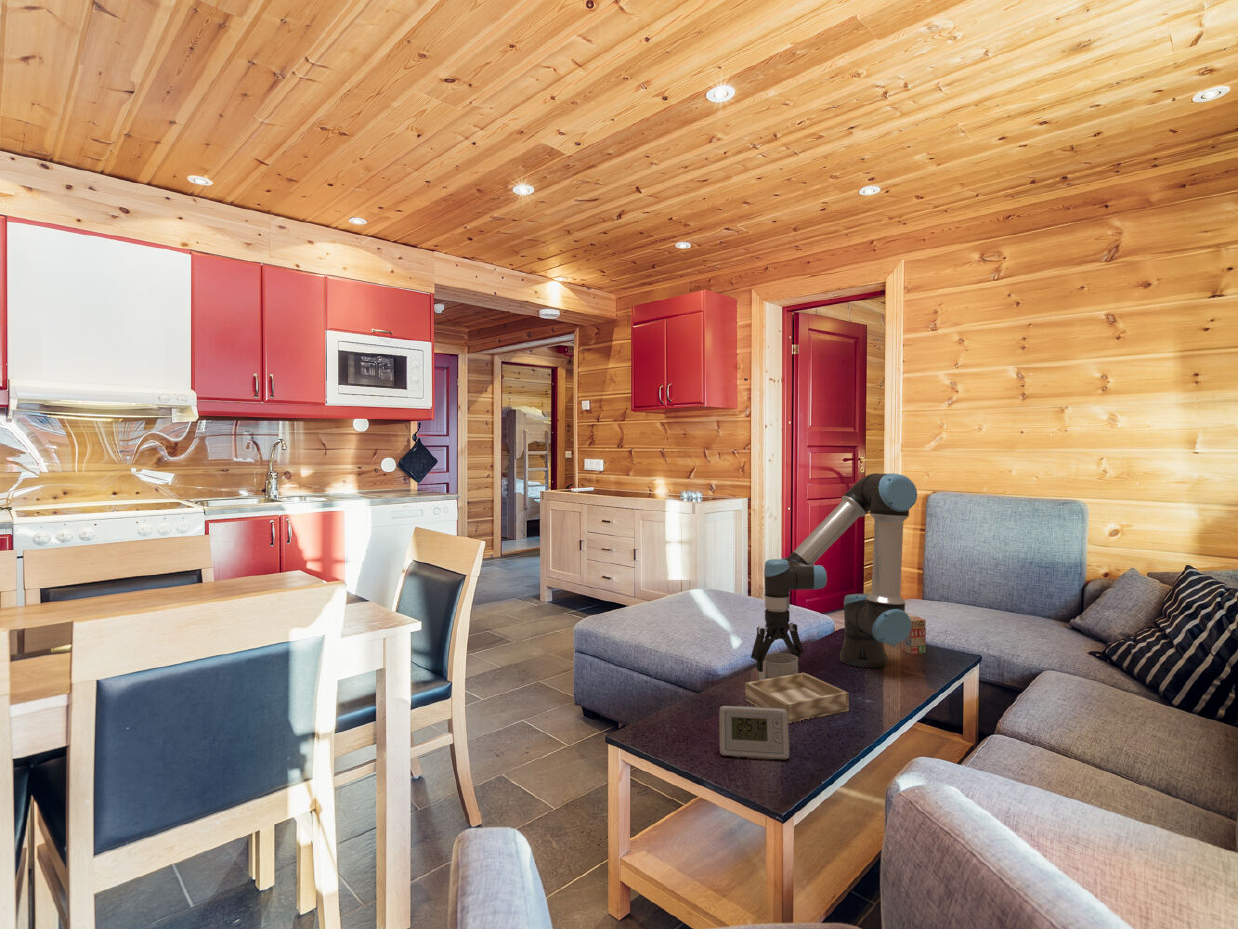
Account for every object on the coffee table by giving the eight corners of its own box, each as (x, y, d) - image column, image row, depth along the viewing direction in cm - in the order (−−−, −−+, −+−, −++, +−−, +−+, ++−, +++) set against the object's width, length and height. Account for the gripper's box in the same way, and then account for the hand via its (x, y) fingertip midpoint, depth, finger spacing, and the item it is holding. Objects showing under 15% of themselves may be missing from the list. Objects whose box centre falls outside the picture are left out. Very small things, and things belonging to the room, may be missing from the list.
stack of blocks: (874, 639, 246) (874, 607, 246) (889, 637, 247) (888, 606, 248) (911, 655, 225) (910, 620, 225) (926, 653, 227) (925, 619, 227)
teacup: (799, 689, 193) (799, 663, 193) (763, 687, 195) (762, 661, 195) (796, 674, 206) (796, 650, 206) (762, 673, 209) (761, 648, 209)
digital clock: (716, 756, 150) (715, 711, 150) (725, 741, 158) (724, 698, 158) (787, 768, 143) (786, 720, 143) (792, 751, 152) (791, 706, 152)
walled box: (804, 689, 193) (803, 672, 193) (848, 710, 175) (848, 692, 175) (745, 700, 185) (745, 682, 185) (786, 724, 167) (785, 705, 167)
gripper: (799, 603, 208) (800, 670, 208) (738, 610, 199) (739, 680, 199) (814, 608, 201) (815, 677, 201) (752, 615, 192) (753, 688, 192)
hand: (777, 679), depth 200 cm, fingers closed on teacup, 11 cm apart
